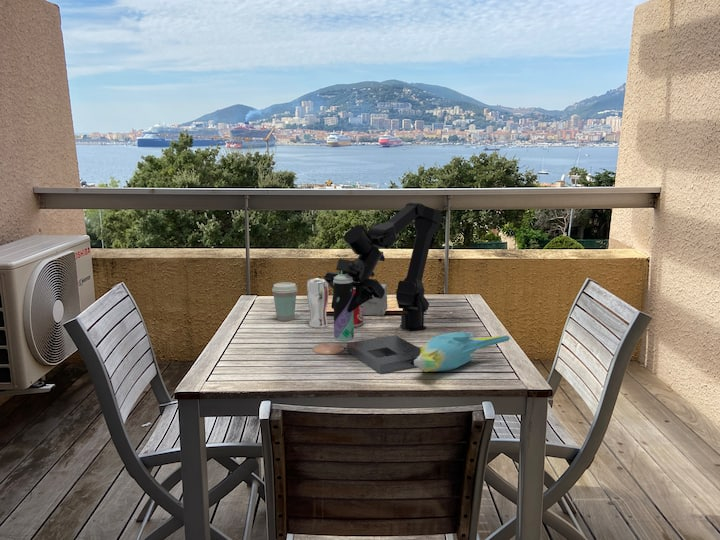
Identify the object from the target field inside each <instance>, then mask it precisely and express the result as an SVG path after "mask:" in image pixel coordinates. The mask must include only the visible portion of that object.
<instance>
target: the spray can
mask: <svg viewBox="0 0 720 540" xmlns="http://www.w3.org/2000/svg"><path fill="white" fill-rule="evenodd" d="M332 290H333V291H332V292H333V294H332V297H333V296H334V309H333V338H334V340H335V341H338V342H350V341H351V342H352V341H353V340H354V339H355V338H354V337H355V336H354V334H355V333H354V332H355V330H354V328H355V327H354V322H353V311H351V312H350V313H349V312H348V311H347V309H348V306H349V304H350V302H351V300H352V298H353V277H352V276H350V275H348V273H347V272H346V271H343V270H342V269H340V271H339V272H338V275H336V276H335V277H334V280H333V288H332Z"/></svg>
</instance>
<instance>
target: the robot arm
mask: <svg viewBox="0 0 720 540" xmlns="http://www.w3.org/2000/svg"><path fill="white" fill-rule="evenodd" d="M442 221H443V213H442V212H441V211H440V210H439V209H437V208H432V207H430V206H429V207H428V206H426V205H424V204H422V203H421V202H407V203H406V204H405V206H404V207H403V208H402V209H400V210H399V211H398V212H397V213H396V214H394V215H393V216H392V217H391V218H389V219H388V220H387V221H385V222H383V223H380V224H376V225H374V226H372V227H370V228H369V229H368V230H366V229H365V226H364V225H363V224H356V225H355V227H353V228H350V229H349V230H348V231H346V233H345V234H344V235H343V236H344V237H343V240H344V242H345V243H346V244H347V246H348V247H349V249H351V251H352V252H353V253H354V254H355V255H357V256H358V257H357V258H355V259H354V260H349V259H342V258H338V260H337V263H336V267H335V270H336V271H339V272H340V269H342V270H343V271H346V272H347V273H348V275H350V276H352V277H353V288H356V290H355V294H354V296H353V298H352V300H351V302H350V304H349V306H348V309H347V311H348V312H349V313H350V312H351V311H353V310H354V309H356V308H357V307H358V306H360V305H361V304H363V303H365V302H366V301H368V300H370V299H373V297H372V295H373V296H374V298H379V299H382V298H383V296H384V294H385V289H384V288H383V287H382V285H381V284H382V283H380V282H379V281H378V279H373V278H374V277H375V272H374V270H375V268H376V267H377V265H378V263H379V261H380V262H385V261H386V258H385V255H384V251H381V250H380V249H389V248H391V247H392V246H393V244H394V243H396V241H397V239H398V238H397V237H398V234H399V233H400V232H402V230H404V229H405V228H407V227H408V225H410V224H411V223H412V222H413V226H414V229H415V231H416V236H415V239H414V243H413V247H412V252H411V256H410V257H411V258H410V261H409V264H408V269H407V273H406V277H405V278H403V280H399V281H398V283H397V289H396V291H395V293H396V294H395V299H396V302H397V307H398V309H402V313H401V316H400V317H401V318H400V319H401V320H400V321H401V323H400V324H399V327H400V328H403V329H405V330H407V331H409V332H412V331H418V330H425V329H427V326H426V325H424V324H425V320H424V319H425V313H426V312H427V311H428V310H429V306H430V302H429V301H428V300H427V298H426V297H425V286H424V284H423V277H424V273H425V268H426V264H427V260H428V255H429V251H430V246H431V242H432V238H433V236H435V235H436V234H437V232H439V230H440V228H441V223H442ZM339 272H338V273H339ZM338 273H337V272H332V271H328V272H326V274H325V276H324V277H323V279H324V280H325V281H326V282H327V283H328V286H330V288H332V289H333V280H334V277H335V276H336V275H338ZM370 277H371V278H370ZM330 307H331V309H332V310H334V296H333V295H332V299H331V306H330Z"/></svg>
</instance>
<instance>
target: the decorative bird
mask: <svg viewBox="0 0 720 540" xmlns="http://www.w3.org/2000/svg"><path fill="white" fill-rule="evenodd" d="M473 335H474V334H473V333H469V332H461V331H460V332H451V333H444V334H443V333H442V334H439V335H436V336H433V337H432V338H431V339H430V340H429V341H427V343H426V344H424V345H423V346H422V347H421V348H420V349H421V353H420V355H419V356H418V357H417V359H415V360H412V361H411V365H415V366H418V367H417V368H418V369H419V370H421V369H422V370H423V371H424V372H425V373H427V372H431V373H432V372H433V373H434V372H445V371H446V372H447V371H452V370H455V369H457V368H459V367H461V366H464V365H465V364H467V363H469V362H470V361H472V360H474V359H475V356H476V355H474V356H473V355H472V354H473V353H474V352H476V351H477V350H480V349H482V348H488V347H490V346H493V345H497V344H500V343H504V342H508V341H510V336H509V335H500V336H498V335H497V336H487V337H478V338H477V337H476V338H471V337H472V336H473ZM471 355H472V356H471Z"/></svg>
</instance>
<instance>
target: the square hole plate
mask: <svg viewBox="0 0 720 540" xmlns="http://www.w3.org/2000/svg"><path fill="white" fill-rule="evenodd" d="M346 352H348V353H349V354H351V355H352V356H353V357H355V358H356V359H358V361H359V360H360V362H362V363H364V364H365V365H366V366H368V367H370V368H371V369H372V370H374V371H375V372H376V373H379V374H380V375H382V374H387V373H393V372H397V371H402V370H407V369H408V370H409V369H412V368H413V369H414V368H419V367H418V366H415V365H411V361H412V360H415V359H417V357H418V356H419V355H420V353H421V348H420V347H419V346H417V345H414V344H413V343H411V342H409V341H407V340H406V339H403V338H401V337H400V336H398V335H396V334H395V335H389V336H388V335H387V336H381V337H376V338H368V339H362V340H356V341H351V342H350V341H349V342H346Z"/></svg>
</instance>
